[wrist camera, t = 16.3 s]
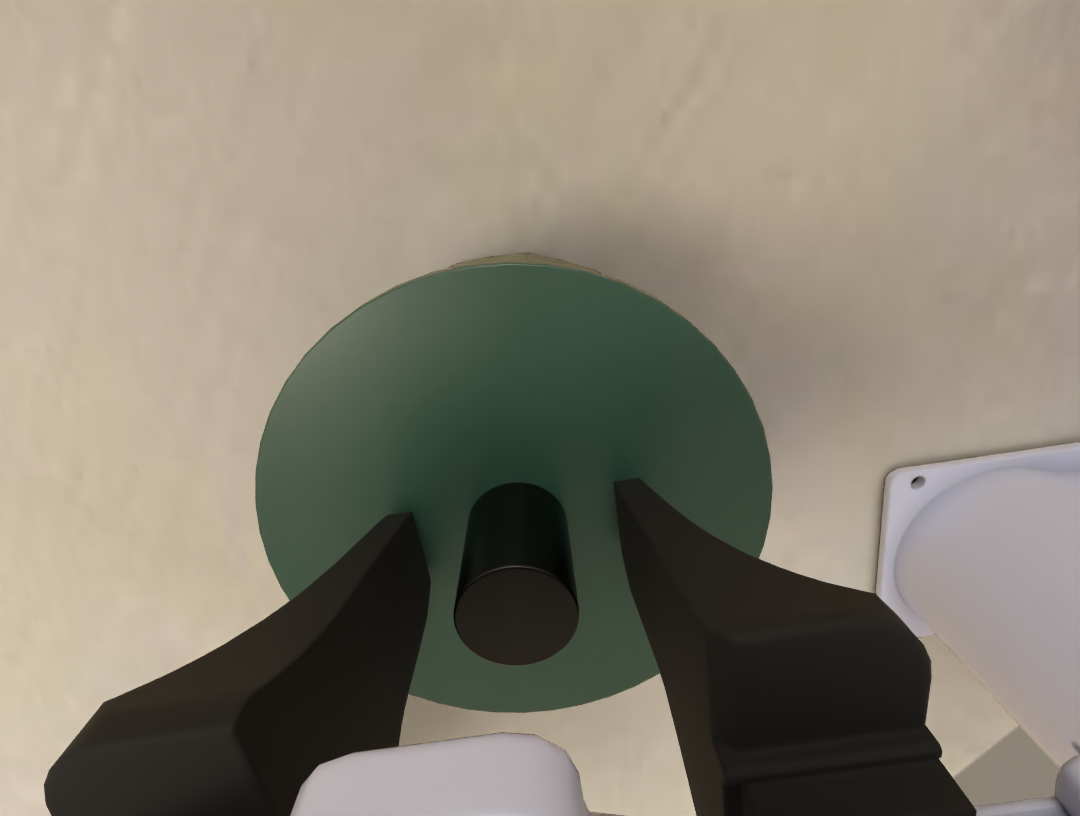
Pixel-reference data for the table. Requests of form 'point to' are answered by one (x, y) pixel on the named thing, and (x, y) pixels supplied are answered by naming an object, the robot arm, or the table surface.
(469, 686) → the lid
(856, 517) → the table surface
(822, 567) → the table surface
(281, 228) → the table surface
